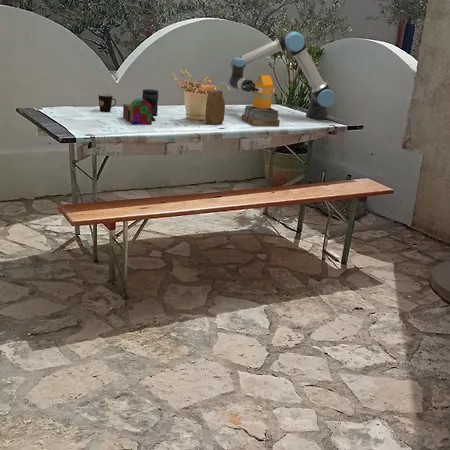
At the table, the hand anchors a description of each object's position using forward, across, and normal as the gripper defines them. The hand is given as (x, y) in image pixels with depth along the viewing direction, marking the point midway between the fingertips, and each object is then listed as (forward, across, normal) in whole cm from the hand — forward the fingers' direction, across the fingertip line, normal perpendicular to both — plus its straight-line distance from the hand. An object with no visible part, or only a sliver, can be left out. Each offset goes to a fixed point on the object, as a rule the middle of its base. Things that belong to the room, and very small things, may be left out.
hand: (268, 90), depth 369 cm
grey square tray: (-4, 0, -21) cm, 22 cm away
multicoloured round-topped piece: (-29, +73, -22) cm, 81 cm away
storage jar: (-43, +58, -22) cm, 75 cm away
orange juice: (-5, 0, -11) cm, 12 cm away
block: (-11, +31, -22) cm, 39 cm away
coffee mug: (-56, +81, -22) cm, 101 cm away
